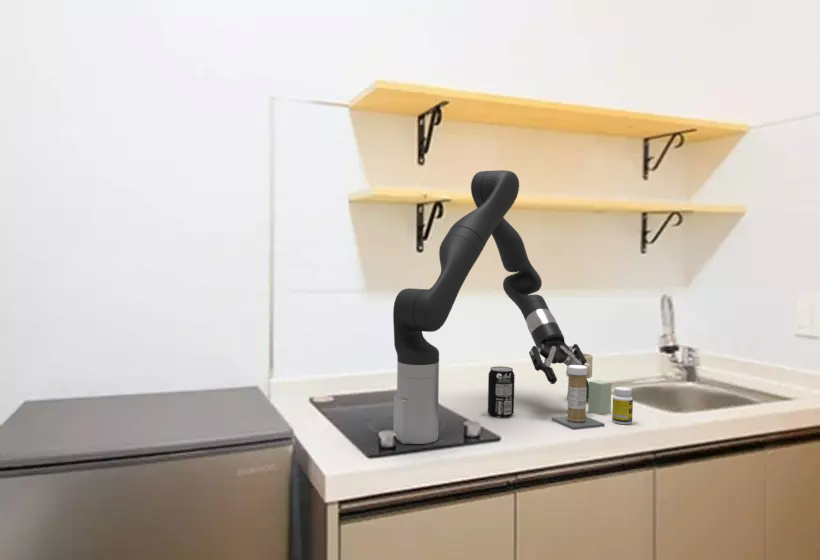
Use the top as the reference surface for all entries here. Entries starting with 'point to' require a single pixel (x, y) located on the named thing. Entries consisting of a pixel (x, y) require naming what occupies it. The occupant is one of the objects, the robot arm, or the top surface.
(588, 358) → the character mug
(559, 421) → the slate coaster
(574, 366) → the sprinkles bottle
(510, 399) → the beverage can
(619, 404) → the supplement bottle
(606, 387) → the sage block
